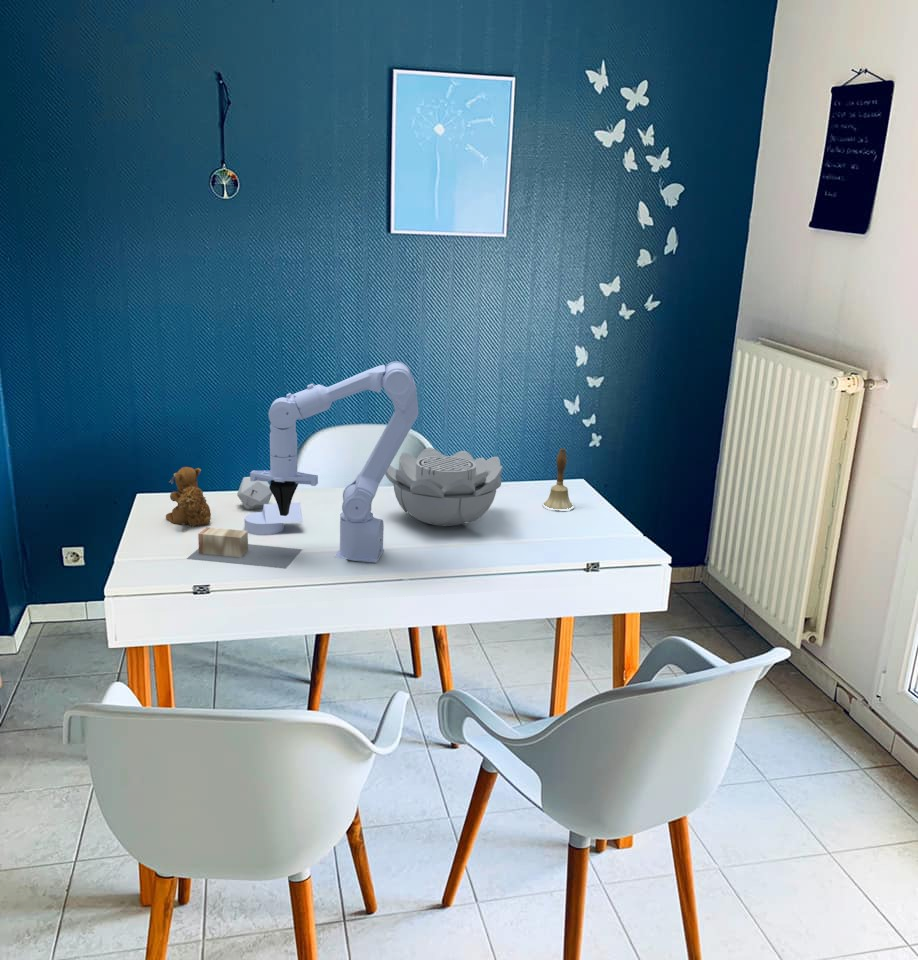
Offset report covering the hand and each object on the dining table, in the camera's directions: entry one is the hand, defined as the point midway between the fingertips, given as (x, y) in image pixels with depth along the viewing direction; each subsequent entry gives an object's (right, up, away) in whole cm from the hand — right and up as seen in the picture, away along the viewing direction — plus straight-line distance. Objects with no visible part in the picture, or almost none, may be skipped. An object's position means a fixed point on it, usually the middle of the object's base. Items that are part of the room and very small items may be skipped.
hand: (284, 514), depth 208 cm
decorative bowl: (+35, -3, +30) cm, 46 cm away
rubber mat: (-9, -9, 0) cm, 13 cm away
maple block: (-9, -6, 0) cm, 11 cm away
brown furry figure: (-26, -3, +21) cm, 33 cm away
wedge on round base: (-6, -5, +18) cm, 19 cm away
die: (-14, 0, +34) cm, 37 cm away
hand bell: (+65, 0, +46) cm, 79 cm away
